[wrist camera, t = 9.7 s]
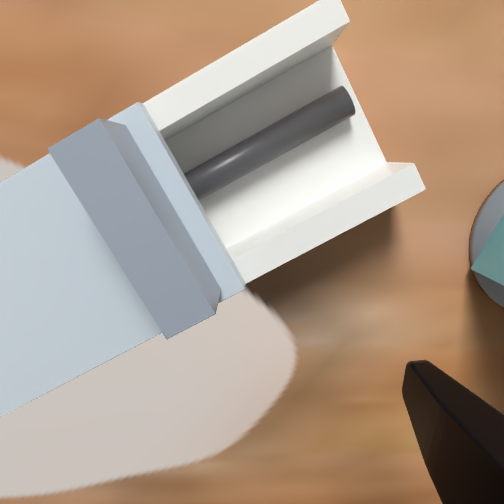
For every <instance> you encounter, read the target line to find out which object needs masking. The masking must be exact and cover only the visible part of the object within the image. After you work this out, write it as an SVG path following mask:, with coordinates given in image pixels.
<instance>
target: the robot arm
mask: <svg viewBox="0 0 504 504" xmlns="http://www.w3.org/2000/svg"><path fill="white" fill-rule="evenodd" d="M402 394H403V399H404V402H405V405H406V408H407V411H408V414H409V417H410V420H411V423H412V426H413V429H414V432H415V435H416V438H417V441H418V444H419V447H420V450H421V453H422V456H423V459H424V462H425V465H426V467H427V469H428V472H429V474H430V477H431V479H432V481H433V483H434V485H435V488H436V490H437V492H438V494H439V496H440V499H441V501H442V503H443V504H504V415H503V414H502V413H500V412H499V411H498V410H496V409H495V408H493V407H492V406H491V405H489V404H488V403H486V402H485V401H484V400H482V399H481V398H479V397H478V396H477V395H475V394H474V393H472V392H471V391H470V390H468V389H467V388H465V387H464V386H463V385H461V384H460V383H458V382H457V381H456V380H454V379H453V378H451V377H450V376H449V375H447V374H446V373H444V372H443V371H442V370H440V369H439V368H437V367H436V366H435V365H433V364H432V363H430V362H429V361H427V360H418V361H410V362H408V363H407V365H406V369H405V375H404V380H403V386H402Z"/></svg>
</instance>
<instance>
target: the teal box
mask: <svg viewBox="0 0 504 504" xmlns="http://www.w3.org/2000/svg"><path fill="white" fill-rule="evenodd" d="M470 269H472V270H474V271H476V272H478V273H480V274H482V275H484V276H486V277H488V278H490V279H492V280H494V281H496V282H498V283H500V284H502V285H504V215H503V216H502V218H501V219H500V221H499V223H498V224H497V226H496V228H495V229H494V231H493V233H492V234H491V236H490V237H489V239H488V241H487V242H486V244H485V246H484V247H483V249H482V251H481V252H480V254H479V255H478V257H477V259H476V260H475V262H474V264H473V265H472V267H471V268H470Z"/></svg>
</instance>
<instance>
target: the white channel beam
mask: <svg viewBox="0 0 504 504" xmlns="http://www.w3.org/2000/svg"><path fill="white" fill-rule="evenodd" d="M349 22H350V20H349V18H348V16H347V14H346V11H345V9H344V7H343V5H342V3H341V0H319V1H317V2H316V3H314V4H312V5H310V6H309V7H307V8H305V9H304V10H302V11H300V12H298V13H297V14H295V15H293V16H292V17H290V18H288V19H287V20H285V21H283V22H281V23H280V24H278V25H276V26H275V27H273V28H271V29H269V30H268V31H266V32H264V33H263V34H261V35H259V36H257V37H256V38H254V39H252V40H251V41H249V42H247V43H245V44H244V45H242V46H240V47H239V48H237V49H235V50H233V51H232V52H230V53H228V54H227V55H225V56H223V57H222V58H220V59H218V60H216V61H215V62H213V63H211V64H210V65H208V66H206V67H204V68H203V69H201V70H199V71H198V72H196V73H194V74H192V75H191V76H189V77H187V78H186V79H184V80H182V81H180V82H179V83H177V84H175V85H174V86H172V87H170V88H168V89H167V90H165V91H163V92H162V93H160V94H158V95H157V96H155V97H153V98H151V99H150V100H148V101H146V102H145V103H143V104H144V105H145V107H146V109H147V110H148V112H149V114H150V116H151V117H152V119H153V121H154V123H155V124H156V126H157V128H158V130H159V131H160V133H161V135H162V137H163V138H164V140H165V142H166V144H167V146H168V147H169V149H170V151H171V153H172V154H173V156H174V158H175V160H176V161H177V163H178V165H179V167H180V168H181V170H182V172H183V174H184V175H185V177H186V179H187V181H188V183H189V184H190V186H191V188H192V190H193V191H194V193H195V195H196V197H197V198H198V200H199V202H200V204H201V205H202V207H203V209H204V211H205V212H206V214H207V216H208V218H209V220H210V221H211V223H212V225H213V227H214V228H215V230H216V232H217V234H218V235H219V237H220V239H221V241H222V242H223V244H224V246H225V248H226V249H227V251H228V253H229V255H230V256H231V258H232V260H233V262H234V264H235V265H236V267H237V269H238V271H239V272H240V274H241V276H242V278H243V279H244V281H245V284H246V283H248V282H250V281H252V280H254V279H256V278H257V277H259V276H261V275H263V274H265V273H267V272H269V271H271V270H273V269H275V268H277V267H278V266H280V265H282V264H284V263H286V262H288V261H290V260H292V259H294V258H296V257H298V256H299V255H301V254H303V253H305V252H307V251H309V250H311V249H313V248H315V247H317V246H319V245H320V244H322V243H324V242H326V241H328V240H330V239H332V238H334V237H336V236H338V235H340V234H341V233H343V232H345V231H347V230H349V229H351V228H353V227H355V226H357V225H359V224H360V223H362V222H364V221H366V220H368V219H370V218H372V217H374V216H376V215H378V214H380V213H381V212H383V211H385V210H387V209H389V208H391V207H393V206H395V205H397V204H399V203H401V202H402V201H404V200H406V199H408V198H410V197H412V196H414V195H416V194H418V193H420V192H422V191H423V190H425V186H424V184H423V182H422V180H421V177H420V175H419V173H418V171H417V169H416V166H415V164H414V163H397V162H386V160H385V158H384V156H383V154H382V151H381V149H380V147H379V145H378V143H377V141H376V139H375V136H374V134H373V132H372V130H371V128H370V126H369V123H368V121H367V119H366V117H365V115H364V113H363V111H362V108H361V106H360V104H359V102H358V100H357V98H356V96H355V93H354V91H353V89H352V87H351V85H350V83H349V80H348V78H347V76H346V74H345V72H344V70H343V68H342V65H341V63H340V61H339V59H338V57H337V55H336V53H335V50H334V48H333V46H332V45H333V43H334V42H335V41H336V39H337V38H338V37H339V35H340V34H341V33H342V31H343V30H344V29H345V27H346V26H347V25H348V23H349Z"/></svg>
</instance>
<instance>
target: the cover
mask: <svg viewBox="0 0 504 504" xmlns="http://www.w3.org/2000/svg"><path fill="white" fill-rule="evenodd" d="M47 150H48V151H49V153H50V154H48V155H46V156H45V157H43V158H41V159H39V160H38V161H36V162H34V163H33V164H31V165H29V166H28V167H26V168H24V169H22V170H21V171H19V172H17V173H16V174H14V175H12V176H10V177H9V178H7V179H5V180H4V181H2V182H0V417H1V416H3V415H5V414H7V413H9V412H11V411H13V410H15V409H17V408H19V407H21V406H22V405H24V404H26V403H28V402H30V401H32V400H34V399H36V398H38V397H40V396H41V395H44V394H45V393H47V392H49V391H51V390H53V389H55V388H57V387H59V386H61V385H63V384H65V383H66V382H68V381H70V380H72V379H74V378H76V377H78V376H80V375H82V374H84V373H86V372H87V371H89V370H91V369H93V368H95V367H97V366H99V365H101V364H103V363H105V362H107V361H108V360H110V359H112V358H114V357H116V356H118V355H120V354H122V353H124V352H126V351H128V350H130V349H132V348H133V347H135V346H137V345H139V344H141V343H143V342H145V341H147V340H148V339H150V338H153V337H154V336H156V335H158V334H160V333H163V334H164V336H165V338H166V339H168V338H170V337H172V336H174V335H176V334H178V333H180V332H182V331H184V330H186V329H188V328H189V327H192V326H193V325H195V324H197V323H199V322H201V321H203V320H205V319H207V318H209V317H211V316H213V315H215V314H216V309H217V305H218V303H219V302H221V301H223V300H225V299H227V298H229V297H231V296H233V295H235V294H236V293H239V292H241V291H242V290H244V289H245V281H244V279H243V278H242V276H241V274H240V272H239V271H238V269H237V267H236V265H235V264H234V262H233V260H232V258H231V256H230V255H229V253H228V251H227V249H226V248H225V246H224V244H223V242H222V241H221V239H220V237H219V235H218V234H217V232H216V230H215V228H214V227H213V225H212V223H211V221H210V220H209V218H208V216H207V214H206V212H205V211H204V209H203V207H202V205H201V204H200V202H199V200H198V198H197V197H196V195H195V193H194V191H193V190H192V188H191V186H190V184H189V183H188V181H187V179H186V177H185V175H184V174H183V172H182V170H181V168H180V167H179V165H178V163H177V161H176V160H175V158H174V156H173V154H172V153H171V151H170V149H169V147H168V146H167V144H166V142H165V140H164V138H163V137H162V135H161V133H160V131H159V130H158V128H157V126H156V124H155V123H154V121H153V119H152V117H151V116H150V114H149V112H148V110H147V109H146V107H145V105H144V104H142V103H140V102H137V103H135V104H133V105H132V106H130V107H128V108H127V109H125V110H123V111H121V112H120V113H118V114H116V115H115V116H113V117H111V118H109V119H108V120H105V119H101V118H99V119H97V120H95V121H94V122H92V123H90V124H89V125H87V126H85V127H83V128H82V129H80V130H78V131H77V132H75V133H73V134H72V135H70V136H68V137H66V138H65V139H63V140H61V141H60V142H58V143H56V144H54V145H53V146H51V147H49V148H48V149H47Z"/></svg>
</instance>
